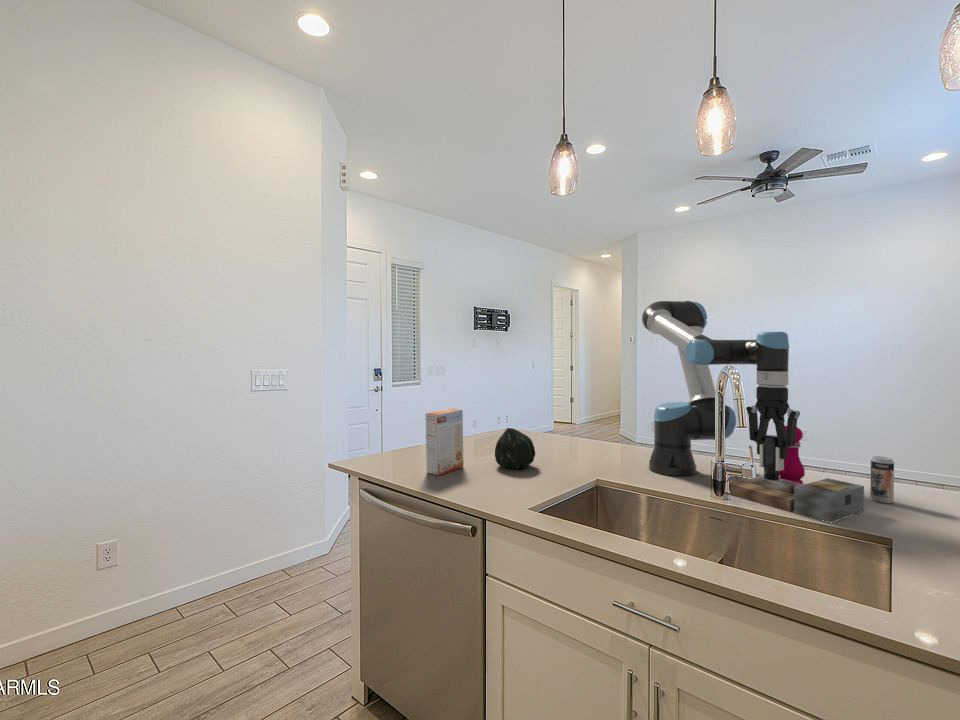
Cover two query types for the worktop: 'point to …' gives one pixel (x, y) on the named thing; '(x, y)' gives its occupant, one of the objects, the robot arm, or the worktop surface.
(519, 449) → the squash
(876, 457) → the beer can
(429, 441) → the cracker box
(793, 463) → the pepper mill
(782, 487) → the brown grey flat block
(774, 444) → the black l-shaped bracket
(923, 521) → the worktop surface
